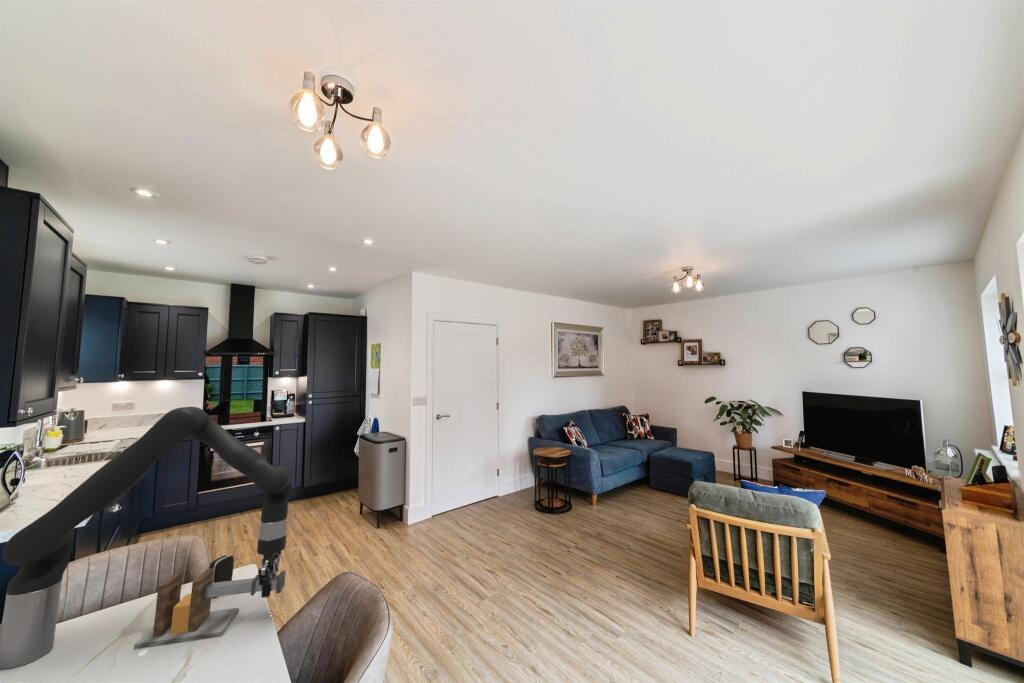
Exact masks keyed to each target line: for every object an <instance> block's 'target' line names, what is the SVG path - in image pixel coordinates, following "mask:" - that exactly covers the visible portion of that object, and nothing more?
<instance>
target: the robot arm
mask: <svg viewBox="0 0 1024 683" xmlns="http://www.w3.org/2000/svg"><path fill="white" fill-rule="evenodd" d="M188 438H191V439H195V440H196V441H199V442H200V443H202V444H204V445H206V446H207V447H209V448H210V449H211V450H213V452H215V454H217V455H218V456H219V458H221V460H222V461H224V463H226V465H228V466H230V467H231V468H233V469H234V470H236V471H238V472H239V473H240V474H242V475H244V476H246V477H247V478H248V479H249V480H250V481H251V482H252V483H254V485H255V486H256V487H257V488H259V489H260V490H261V491H263V492H265V493H266V496H265V500H264V502H263V504H262V508H261V513H260V514H261V515H260V522H259V528H258V535H257V536H258V537H257V547H256V548H257V549H256V552H257V554H258V555H261V556H263V559H261V561H260V562H261V563H260V566H261V568H260V567H259V568H258V570H257V572H258V573H257V575H259V586H261V585H262V591H261V593H260V594H261V595H260V596H261V598H269V597H270V596H271V592H273V591H274V590H271V582H272V576H277V572H278V571H279V566H280V562H281V557H282V556H281V554H282V551H284V550H285V549H286V544H287V534H288V512H289V511H288V509H289V499H290V494H291V490H292V483H293V472H292V471H291V469H290V468H289V467H287V466H283V465H281V466H276V467H274V466H273V465H272V464H270V463H269V462H268V459H267V457H266V456H264V455H263V454H262V453H261V452H258V451H257V449H256V450H255V449H254V448H252V447H251V446H249V445H247V444H246V443H244V442H243V441H242V440H240V439H238V438H237V437H235V436H234V435H232V434H231V433H230V432H228V431H227V430H226V429H225V428H224V427H222V426H221V425H220V424H218V422H217V421H215V419H214V418H212V416H210V415H209V413H207V412H206V411H205V410H203V409H202V408H200V407H198V406H183V407H182V406H181V407H177V408H173V409H171V410H170V411H168V412H167V413H165V414H164V415H163V416H162V417H161V418H159V420H158V421H156V422H155V423H154V425H152V426H151V428H149V429H148V430H147V431H146V432H145V433H144V434H143V435H142V436H141V437H139V438H138V439H137V440H136V441H135V442H134V443H132V444H131V445H129V446H128V447H127V448H125V449H124V450H122V451H121V452H120V453H118V454H117V455H116V456H114V457H113V458H112V459H110V460H109V461H108V462H106V463H105V464H104V465H102V466H101V467H100V468H99V469H98V470H97V471H95V472H94V473H93V474H91V475H90V476H89V477H88V478H87V479H86V480H84V481H83V482H82V483H81V484H80V485H79V486H77V487H76V488H75V489H73V491H71V492H70V493H69V494H68V495H66V497H64V498H63V499H62V500H61V501H59V503H58V504H57V505H55V506H54V507H53V508H51V509H50V510H49V511H47V512H45V513H43V515H41V516H40V517H38V518H37V519H35V520H34V521H33V522H31V523H30V524H28V525H27V526H25V527H23V528H22V529H20V530H19V531H17V532H16V533H15V534H14V535H12V536H11V537H10V538H9V540H8V541H7V542H6V543H5V545H4V548H3V551H2V558H3V560H4V561H5V563H7V564H9V565H11V566H16V567H18V566H19V567H20V566H21V567H20V569H19V570H18V571H17V573H16V574H15V575H14V576H13V577H12V578H11V579H10V580H9V581H8V583H7V587H6V588H7V589H6V594H5V602H4V607H3V608H4V609H3V616H2V621H1V623H0V670H5V669H4V668H8V669H12V668H16V667H20V666H23V665H27V664H29V663H31V662H34V661H36V660H38V659H40V658H42V657H44V656H45V655H47V654H48V653H49V652H51V651H52V649H53V648H54V642H55V634H56V629H57V628H56V626H57V620H58V613H59V606H60V599H61V598H60V597H61V591H62V584H63V577H64V576H63V575H64V573H65V571H66V570H67V567H68V565H69V563H70V558H71V553H72V549H73V543H74V535H75V534H74V533H75V532H74V529H75V528H76V527H78V525H80V524H81V523H82V522H85V520H87V519H89V518H91V517H92V516H94V515H95V514H97V513H98V512H101V511H102V510H104V509H105V508H107V507H108V506H109V505H111V504H113V503H114V502H115V501H117V500H119V499H120V498H121V497H122V496H124V495H125V494H126V493H127V492H129V491H130V490H131V489H132V488H133V487H134V486H135V485H137V484H138V483H139V482H140V481H141V480H143V478H144V477H145V476H146V475H147V474H148V472H149V471H150V470H151V468H152V467H153V465H154V464H155V463H156V462H157V460H158V459H159V458H161V456H163V455H164V454H165V453H166V452H168V451H169V450H171V448H173V447H174V446H176V445H178V444H179V443H180V442H181V441H183V440H186V439H188ZM265 579H266V580H265Z"/></svg>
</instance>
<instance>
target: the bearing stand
mask: <svg viewBox="0 0 1024 683" xmlns="http://www.w3.org/2000/svg"><path fill="white" fill-rule="evenodd" d="M213 574H214V568H212V569H209V568H206V569H205V570H204V571H202V572H201V573H200V575H199V576H198V577H196V578H195V579H194V580H193V581H192V584H191V593H190V594H191V602H190V612H189V622H188V632H183V633H177V634H171V627H172V617H173V608H174V607H175V606H176V604H177V603H178V602H179V601H180V600H181V592H182V582H183V571H177V572H174V573H173V574H171V575H170V576H168V577H167V578H166V579H165V580H164V581H162V582H161V583H160V584H158V586H157V593H156V594H157V595H156V604H155V605H156V606H155V613H154V622H153V623H154V624H153V626H151V628H149V629H148V631H147V632H145V633H144V634H143V635H142V636H141V637H140V638H139V639H137V641H136V642H135V643H134V644H133V650H139V649H145V648H151V647H156V646H157V647H158V646H164V645H172V644H177V643H179V644H180V643H184V642H185V643H186V642H190V641H191V642H193V641H200V640H205V639H206V640H207V639H213V638H218V637H223V635H224V633H225V632H226V631H227V629H228V628H229V627H230V624H232V622H233V620H234V619H235V618H236V617H237V615H238V614H239V612H240V607H236V608H235V607H233V608H225V609H218V610H211V604H212V598H203V588H204V586H205V585H206V584H208V583H213ZM202 598H203V599H202Z"/></svg>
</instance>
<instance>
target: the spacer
mask: <svg viewBox="0 0 1024 683" xmlns="http://www.w3.org/2000/svg"><path fill="white" fill-rule="evenodd" d="M190 602H191V593H187V594H185V595H184V596H183V597H182V598H180V601H179V602H178V603H177V604H176V606H175V607H174V608H173V617H172V627H171V634H177V633H183V632H188V622H189V612H190Z"/></svg>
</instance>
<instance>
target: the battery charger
mask: <svg viewBox="0 0 1024 683" xmlns="http://www.w3.org/2000/svg"><path fill="white" fill-rule="evenodd" d="M234 563H235V557H234V555H232V554H229V555H227V554H226V555H225V554H224V555H222V556H221V557H217V559H214V560H212V561H211V562H210V564H209V567H208V569H212V568H214V574H213V583H216V582H225V581H233V574H234V566H235V565H234ZM215 598H216V597H211V599H215Z"/></svg>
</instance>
